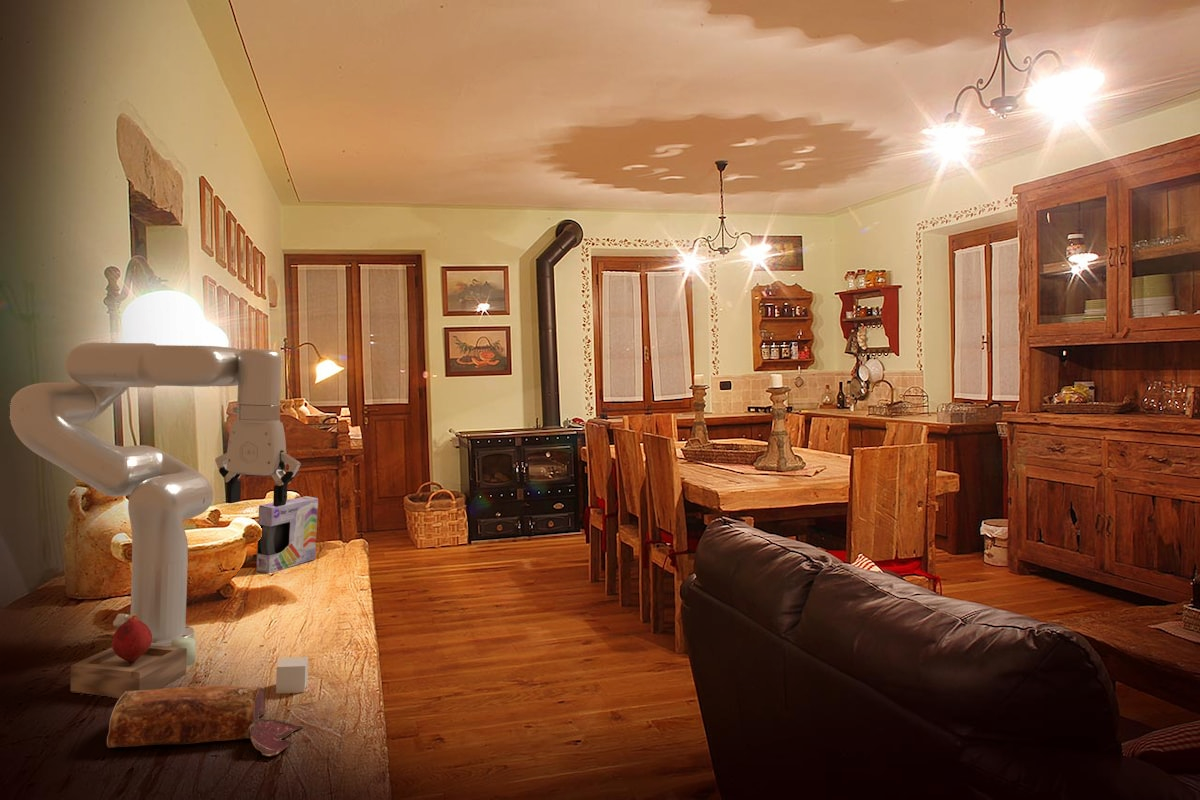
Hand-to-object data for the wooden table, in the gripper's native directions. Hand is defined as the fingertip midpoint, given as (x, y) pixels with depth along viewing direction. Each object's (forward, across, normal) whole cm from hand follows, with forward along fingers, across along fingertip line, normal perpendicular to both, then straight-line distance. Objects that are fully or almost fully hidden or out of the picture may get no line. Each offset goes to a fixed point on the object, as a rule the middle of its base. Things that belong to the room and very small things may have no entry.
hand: (256, 504), depth 159 cm
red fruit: (+24, -8, -22) cm, 34 cm away
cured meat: (+28, +17, -36) cm, 49 cm away
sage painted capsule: (+27, -6, -12) cm, 30 cm away
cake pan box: (+27, -30, +59) cm, 72 cm away
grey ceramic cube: (+28, +18, -16) cm, 37 cm away
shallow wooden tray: (+27, -8, -23) cm, 36 cm away
